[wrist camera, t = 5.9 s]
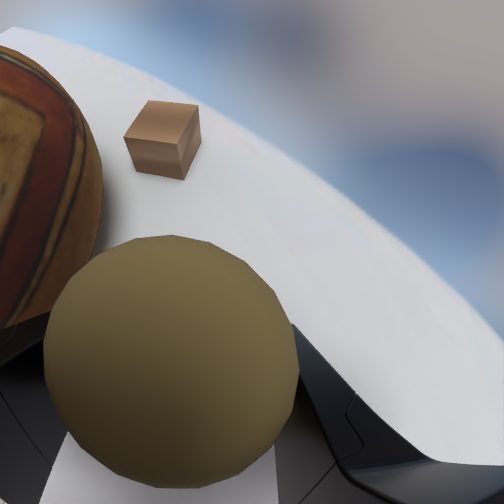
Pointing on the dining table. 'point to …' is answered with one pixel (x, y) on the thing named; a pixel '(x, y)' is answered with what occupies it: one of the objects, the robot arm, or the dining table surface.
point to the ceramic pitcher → (42, 189)
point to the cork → (171, 362)
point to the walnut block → (164, 138)
